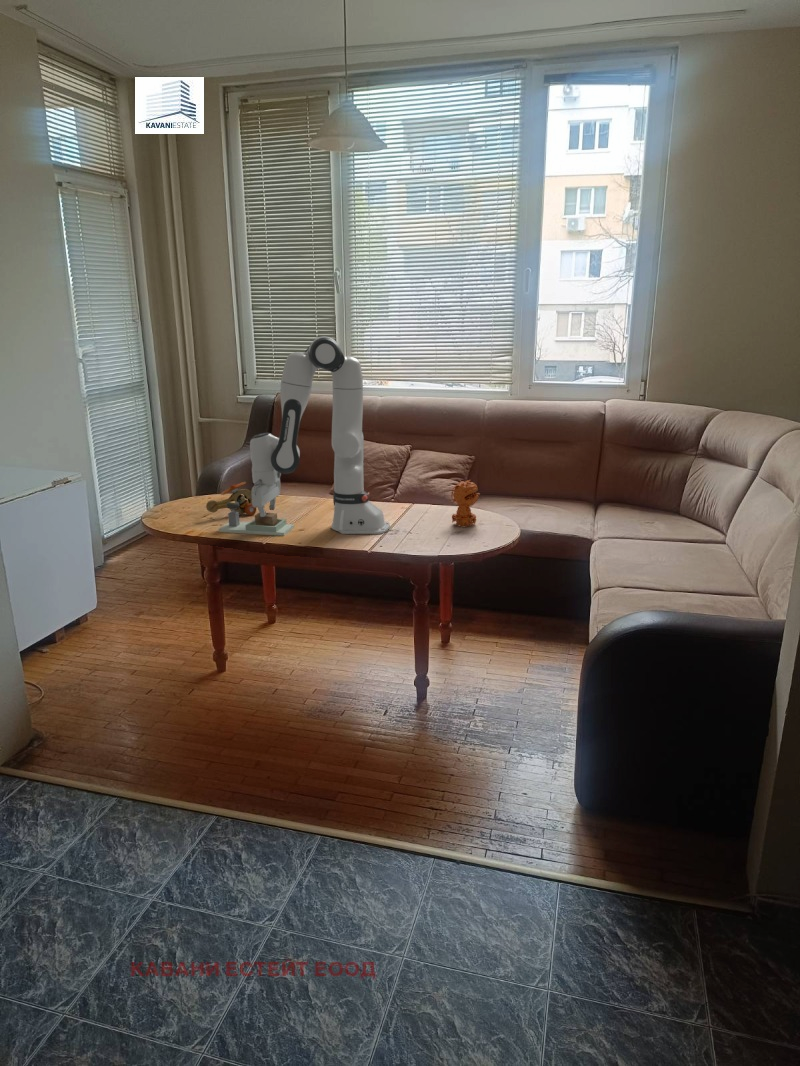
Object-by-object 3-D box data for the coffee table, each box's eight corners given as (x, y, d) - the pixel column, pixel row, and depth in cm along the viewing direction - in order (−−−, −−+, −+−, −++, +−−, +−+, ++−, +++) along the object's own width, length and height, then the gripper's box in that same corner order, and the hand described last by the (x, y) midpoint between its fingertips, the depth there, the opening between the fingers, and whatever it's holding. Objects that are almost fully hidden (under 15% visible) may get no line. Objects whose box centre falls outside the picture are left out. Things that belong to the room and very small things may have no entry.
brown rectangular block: (277, 525, 273) (277, 513, 271) (273, 529, 268) (272, 516, 267) (260, 524, 274) (259, 512, 273) (255, 528, 270) (254, 515, 268)
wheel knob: (241, 514, 274) (240, 500, 272) (236, 517, 270) (235, 503, 268) (230, 514, 275) (229, 500, 273) (225, 517, 271) (224, 503, 269)
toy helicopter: (259, 514, 294) (257, 481, 290) (213, 523, 280) (210, 489, 276) (248, 510, 299) (246, 478, 295) (203, 519, 286) (200, 486, 282)
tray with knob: (294, 527, 275) (293, 511, 273) (284, 535, 264) (283, 519, 263) (230, 523, 280) (229, 508, 278) (218, 531, 269) (217, 516, 268)
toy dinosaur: (479, 529, 272) (480, 482, 267) (450, 528, 273) (451, 482, 268) (478, 521, 283) (479, 476, 278) (450, 520, 284) (451, 476, 278)
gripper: (262, 483, 255) (265, 520, 259) (282, 471, 274) (285, 506, 278) (245, 483, 256) (249, 520, 260) (266, 471, 275) (269, 505, 279)
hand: (267, 512), depth 269 cm, fingers open, 8 cm apart
